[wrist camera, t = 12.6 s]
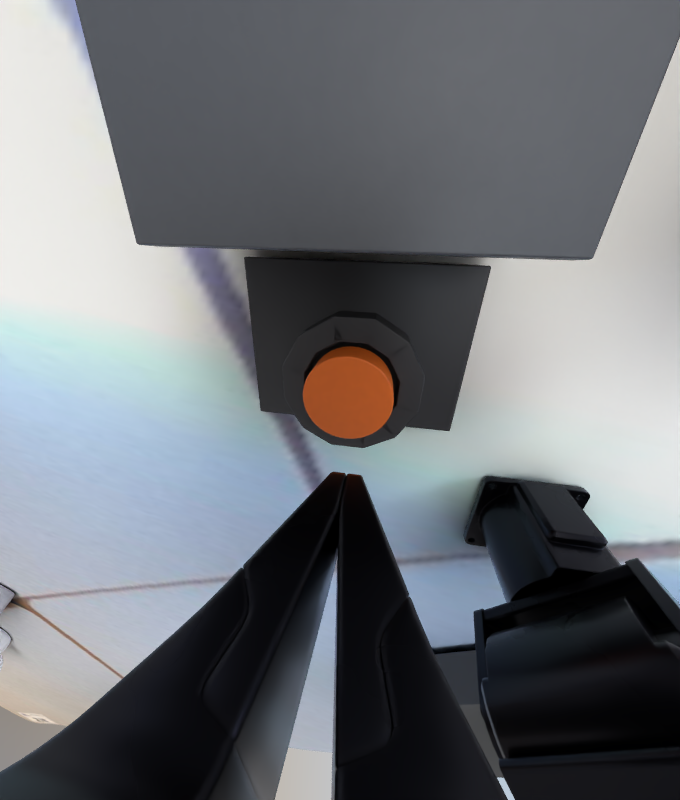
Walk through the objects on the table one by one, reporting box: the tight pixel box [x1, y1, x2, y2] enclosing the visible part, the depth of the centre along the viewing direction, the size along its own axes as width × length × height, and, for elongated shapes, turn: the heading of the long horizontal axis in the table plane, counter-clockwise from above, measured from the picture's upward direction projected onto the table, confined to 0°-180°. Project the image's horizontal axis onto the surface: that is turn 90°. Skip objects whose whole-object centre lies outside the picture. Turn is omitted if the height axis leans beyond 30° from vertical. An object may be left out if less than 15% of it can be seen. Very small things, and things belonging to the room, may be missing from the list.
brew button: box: [303, 346, 394, 439], centre depth 14 cm, size 4×4×2 cm
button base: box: [244, 257, 491, 448], centre depth 15 cm, size 10×12×3 cm
